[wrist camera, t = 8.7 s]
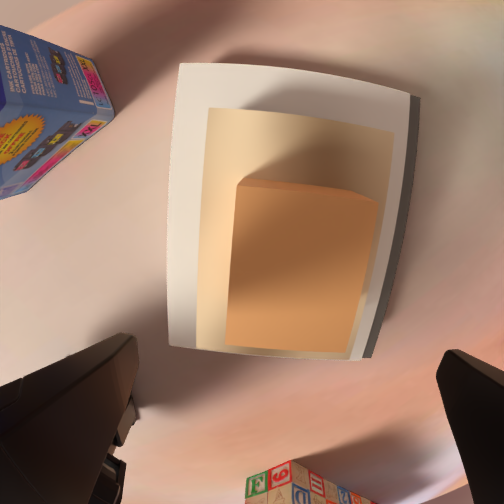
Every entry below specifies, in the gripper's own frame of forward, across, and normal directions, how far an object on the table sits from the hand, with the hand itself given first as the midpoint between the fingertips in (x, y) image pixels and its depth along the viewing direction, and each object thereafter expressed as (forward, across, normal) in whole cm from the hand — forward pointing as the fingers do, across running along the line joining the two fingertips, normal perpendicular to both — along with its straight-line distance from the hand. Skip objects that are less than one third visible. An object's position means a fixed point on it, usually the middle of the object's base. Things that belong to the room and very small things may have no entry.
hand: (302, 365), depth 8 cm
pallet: (+9, 0, -2) cm, 9 cm away
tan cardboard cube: (+5, 0, -2) cm, 5 cm away
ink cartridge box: (+12, +16, -7) cm, 21 cm away
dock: (+12, 0, -2) cm, 12 cm away
